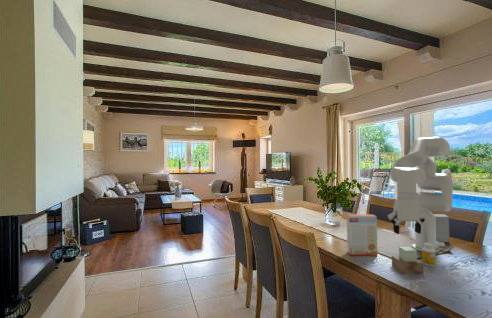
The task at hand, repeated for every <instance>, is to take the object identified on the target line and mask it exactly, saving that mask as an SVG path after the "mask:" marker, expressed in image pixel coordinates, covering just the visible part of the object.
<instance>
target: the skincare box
mask: <svg viewBox="0 0 492 318" xmlns="http://www.w3.org/2000/svg"><path fill="white" fill-rule="evenodd" d="M433 215H434V216H435V219H436V242H439V243H450V223H449V222H450V217H449V215H448V216H447V215H446V214H444V213H443V214H442V213H441V214H440V213H439V214H437V213H436V214H435V213H433Z"/></svg>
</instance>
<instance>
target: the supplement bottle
mask: <svg viewBox="0 0 492 318" xmlns="http://www.w3.org/2000/svg"><path fill="white" fill-rule="evenodd" d="M436 259H437V258H436V251H435V249H434V244H432V243H424V247H423V248H422V251H421V262H422V263H423V265H424V266H425V265H426V266H430V267H434V266H436Z"/></svg>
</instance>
